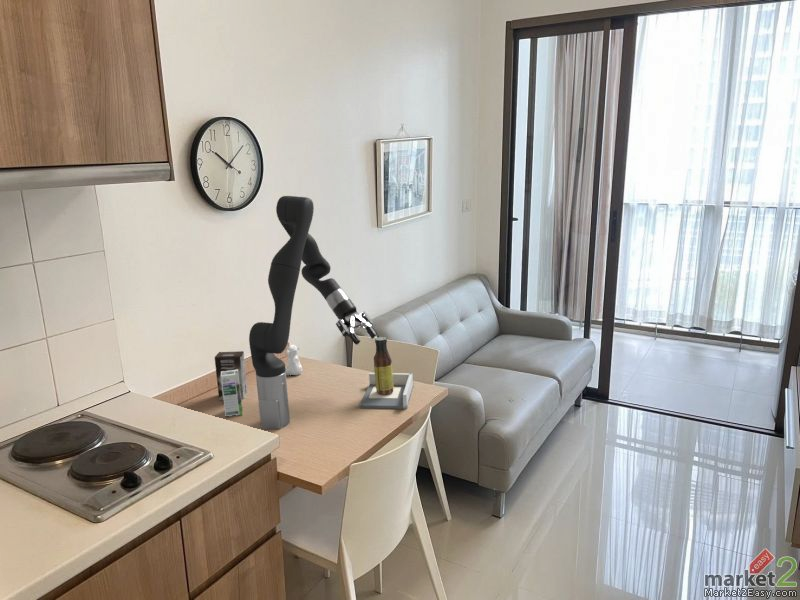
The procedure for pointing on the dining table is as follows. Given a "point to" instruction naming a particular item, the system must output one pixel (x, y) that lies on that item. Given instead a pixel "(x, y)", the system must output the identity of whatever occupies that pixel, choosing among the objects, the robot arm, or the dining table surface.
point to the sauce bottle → (383, 368)
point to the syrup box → (231, 392)
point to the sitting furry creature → (293, 361)
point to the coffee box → (231, 362)
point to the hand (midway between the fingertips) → (366, 340)
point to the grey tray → (393, 400)
